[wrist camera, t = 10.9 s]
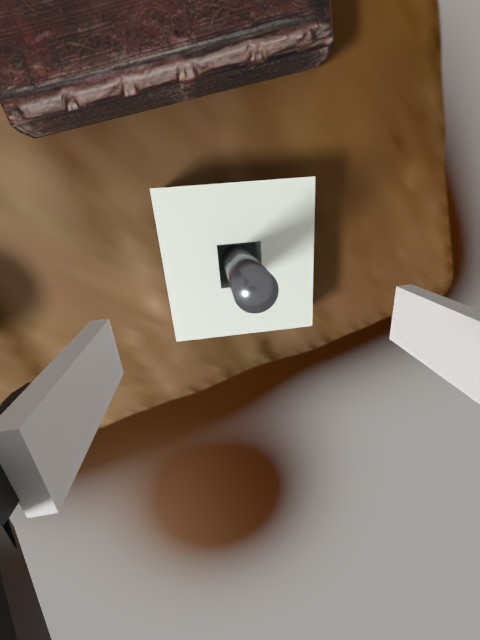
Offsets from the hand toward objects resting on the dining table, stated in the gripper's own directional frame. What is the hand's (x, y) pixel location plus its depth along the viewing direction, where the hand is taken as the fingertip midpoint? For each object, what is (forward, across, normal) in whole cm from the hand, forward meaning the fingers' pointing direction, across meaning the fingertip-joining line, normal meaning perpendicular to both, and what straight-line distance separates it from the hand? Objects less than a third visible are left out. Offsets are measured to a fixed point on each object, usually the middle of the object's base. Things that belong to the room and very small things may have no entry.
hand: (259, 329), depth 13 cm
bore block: (+23, +1, -1) cm, 23 cm away
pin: (+22, +1, -1) cm, 22 cm away
